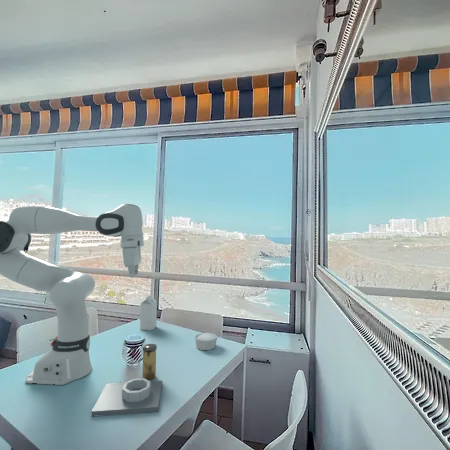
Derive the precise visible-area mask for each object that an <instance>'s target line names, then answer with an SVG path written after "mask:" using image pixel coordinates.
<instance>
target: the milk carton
mask: <svg viewBox="0 0 450 450" xmlns="http://www.w3.org/2000/svg"><path fill="white" fill-rule="evenodd" d="M145 298H146V299H145V300H143V301H142V302H141V303H140V312H139V313H140V314H139V315H140V316H139V317H140V318H139V321H140V323H139V330H140V331H141V330H143V331H153V330H155V328H157V317H158V316H157V315H158V309H157V308H158V305H157V303H158V302H157V300H156V299H155V298H154V297H153V295H152V294H150V295H148V296H146V297H145Z"/></svg>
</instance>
